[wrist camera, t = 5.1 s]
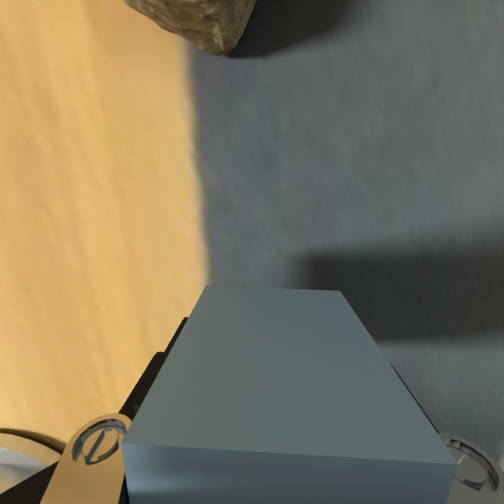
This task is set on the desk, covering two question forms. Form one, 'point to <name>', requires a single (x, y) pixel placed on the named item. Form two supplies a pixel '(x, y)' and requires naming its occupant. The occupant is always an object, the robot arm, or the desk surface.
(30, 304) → the desk surface
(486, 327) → the desk surface
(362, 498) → the slate cube
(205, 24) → the stone block
